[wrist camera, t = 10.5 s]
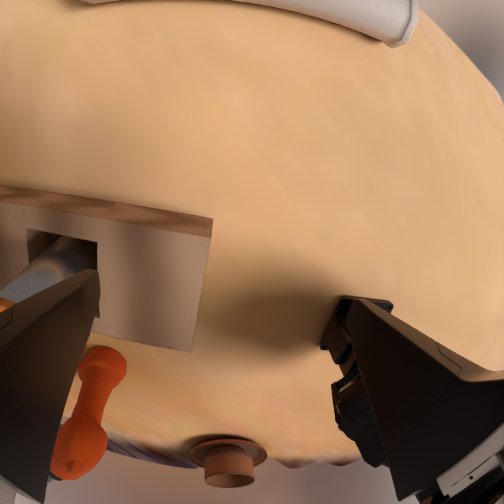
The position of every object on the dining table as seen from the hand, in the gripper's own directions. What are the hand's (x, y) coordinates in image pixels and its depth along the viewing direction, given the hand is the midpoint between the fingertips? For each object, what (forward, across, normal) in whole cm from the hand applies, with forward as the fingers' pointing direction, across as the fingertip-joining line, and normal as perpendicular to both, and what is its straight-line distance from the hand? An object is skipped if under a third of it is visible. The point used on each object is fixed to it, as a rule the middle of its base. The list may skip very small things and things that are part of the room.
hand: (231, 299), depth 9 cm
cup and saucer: (+13, -6, +38) cm, 40 cm away
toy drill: (+13, +13, +24) cm, 31 cm away
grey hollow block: (+13, +12, +6) cm, 19 cm away
